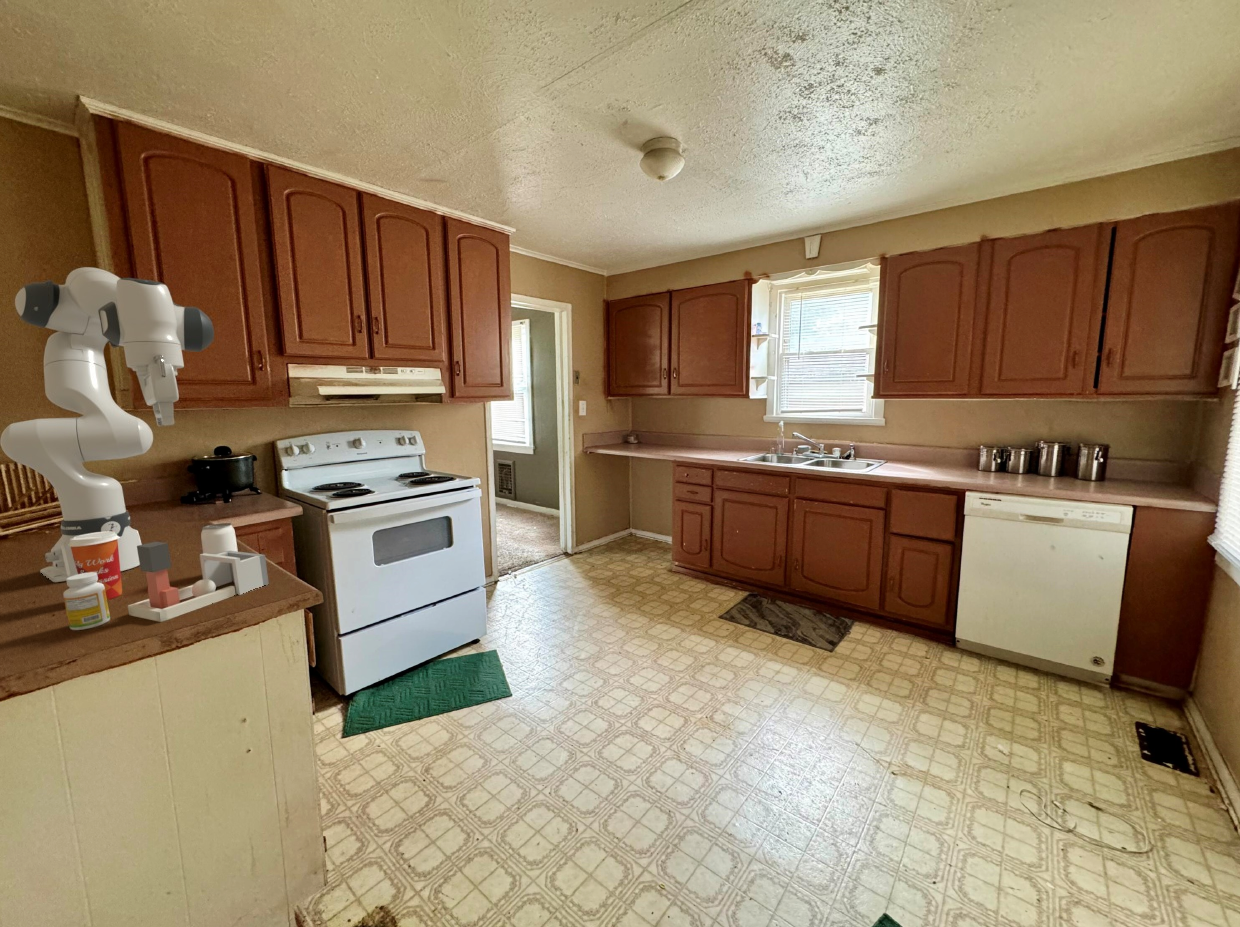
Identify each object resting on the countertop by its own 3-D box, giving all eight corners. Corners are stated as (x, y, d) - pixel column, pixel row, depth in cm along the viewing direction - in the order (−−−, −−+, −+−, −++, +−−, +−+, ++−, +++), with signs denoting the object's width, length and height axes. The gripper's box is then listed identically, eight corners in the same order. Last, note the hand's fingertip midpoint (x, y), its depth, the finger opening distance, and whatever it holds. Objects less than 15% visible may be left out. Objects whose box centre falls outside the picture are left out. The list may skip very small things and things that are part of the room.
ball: (188, 600, 106) (185, 582, 106) (209, 593, 110) (206, 575, 110) (200, 602, 105) (197, 584, 104) (221, 595, 109) (218, 577, 108)
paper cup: (71, 607, 105) (58, 542, 103) (88, 595, 111) (77, 533, 109) (121, 599, 108) (110, 536, 106) (135, 587, 115) (125, 528, 113)
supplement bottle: (89, 619, 98) (80, 571, 97) (118, 617, 99) (110, 569, 98) (61, 631, 93) (51, 581, 92) (92, 629, 94) (83, 579, 92)
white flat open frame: (129, 615, 100) (127, 605, 99) (204, 590, 112) (203, 581, 112) (161, 621, 96) (159, 612, 96) (235, 595, 108) (234, 586, 108)
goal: (204, 588, 113) (199, 554, 112) (234, 579, 118) (229, 546, 117) (240, 594, 108) (235, 559, 107) (268, 584, 114) (264, 550, 113)
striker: (144, 611, 100) (133, 545, 98) (162, 605, 103) (152, 541, 101) (163, 615, 98) (152, 547, 96) (181, 609, 101) (170, 543, 99)
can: (221, 578, 119) (214, 529, 117) (199, 577, 120) (192, 529, 119) (247, 569, 125) (240, 522, 124) (225, 568, 127) (219, 522, 125)
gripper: (181, 353, 99) (192, 423, 101) (169, 364, 113) (179, 425, 115) (137, 352, 95) (150, 425, 96) (130, 363, 109) (141, 427, 110)
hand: (165, 425), depth 106 cm, fingers open, 8 cm apart
